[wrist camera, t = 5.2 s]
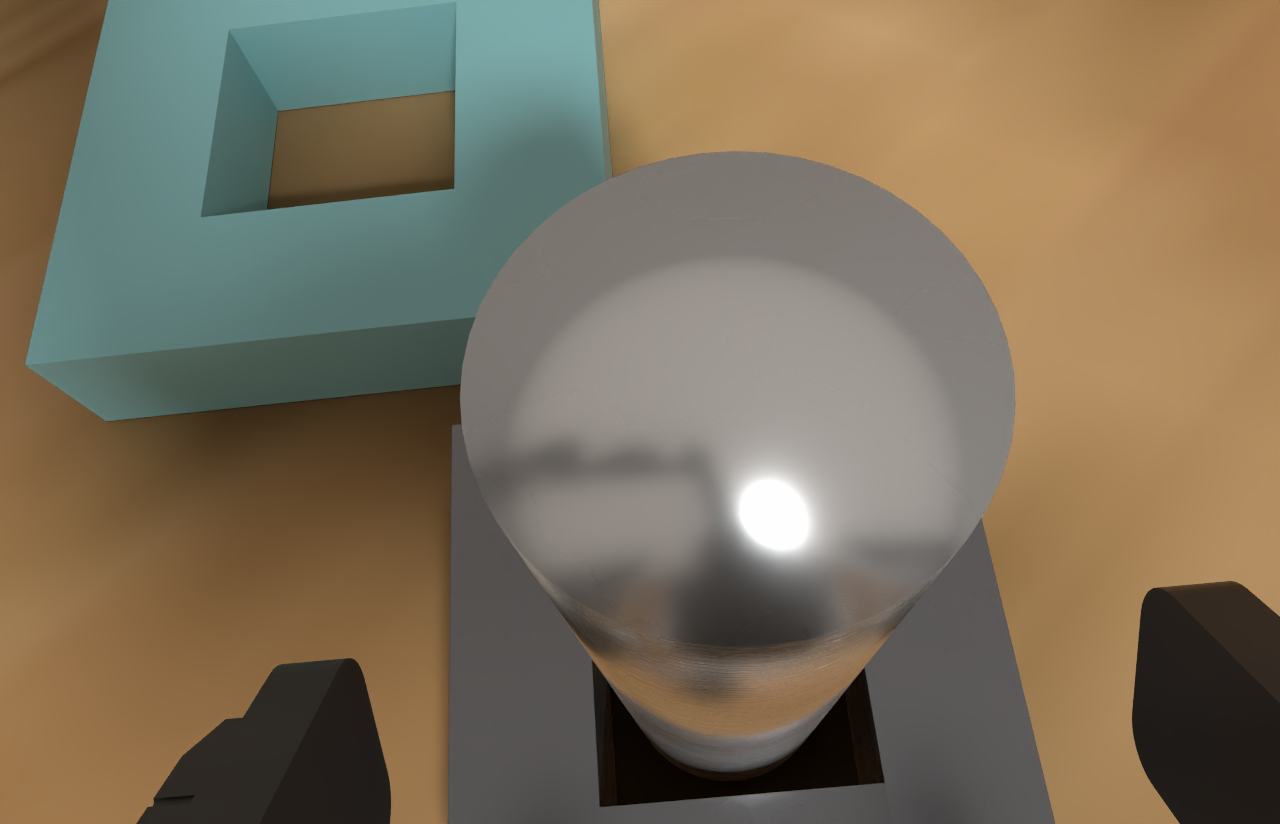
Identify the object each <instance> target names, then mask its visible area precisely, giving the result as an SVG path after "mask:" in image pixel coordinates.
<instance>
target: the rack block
mask: <svg viewBox="0 0 1280 824" xmlns="http://www.w3.org/2000/svg"><path fill="white" fill-rule="evenodd" d="M454 90H455V178H454V189H447V190H438V191H430V192H421V193H412V194H403V195H394V196H385V197H376V198H367V199H359V200H350V201H341V202H332V203H323V204H314V205H305V206H296V207H288V208H279V209H270V210H267V204H268V195H269V187H270V178H271V169H272V160H273V152H274V143H275V134H276V125H277V117H278V111H283V110H291V109H300V108H308V107H317V106H325V105H334V104H342V103H351V102H360V101H368V100H377V99H385V98H394V97H402V96H411V95H419V94H428V93H437V92H445V91H454ZM611 178H613V177H612V164H611V152H610V139H609V126H608V114H607V101H606V89H605V76H604V63H603V51H602V38H601V25H600V13H599V0H108V4H107V9H106V13H105V17H104V22H103V26H102V31H101V35H100V39H99V44H98V48H97V52H96V57H95V61H94V65H93V70H92V74H91V79H90V83H89V87H88V92H87V96H86V100H85V105H84V109H83V114H82V118H81V122H80V127H79V131H78V135H77V140H76V144H75V148H74V153H73V157H72V162H71V166H70V170H69V175H68V179H67V183H66V188H65V192H64V197H63V201H62V205H61V210H60V214H59V218H58V223H57V227H56V231H55V236H54V240H53V245H52V249H51V253H50V258H49V262H48V266H47V271H46V275H45V279H44V284H43V288H42V293H41V297H40V301H39V306H38V310H37V314H36V319H35V323H34V328H33V332H32V336H31V341H30V345H29V349H28V354H27V358H26V362H25V366H27V367H28V368H30V369H31V370H32V371H34V372H35V373H37V374H38V375H40V376H41V377H43V378H44V379H46V380H47V381H48V382H50V383H51V384H53V385H54V386H56V387H57V388H59V389H60V390H62V391H63V392H64V393H66V394H67V395H69V396H70V397H72V398H73V399H75V400H76V401H77V402H79V403H80V404H82V405H83V406H85V407H86V408H88V409H89V410H91V411H92V412H93V413H95V414H96V415H98V416H99V417H101V418H102V419H104V420H105V421H114V420H124V419H133V418H143V417H152V416H162V415H171V414H181V413H191V412H200V411H210V410H219V409H229V408H239V407H248V406H258V405H267V404H277V403H287V402H296V401H306V400H315V399H325V398H335V397H344V396H354V395H363V394H373V393H382V392H392V391H402V390H411V389H421V388H430V387H440V386H450V385H459V384H461V376H462V365H463V360H464V356H465V351H466V347H467V342H468V338H469V334H470V331H471V329H472V326H473V323H474V321H475V318H476V315H477V312H478V310H479V307H480V305H481V303H482V301H483V299H484V297H485V296H486V294H487V292H488V290H489V288H490V286H491V284H492V282H493V281H494V279H495V277H496V276H497V275H498V273H499V272H500V270H501V269H502V267H503V266H504V265H505V263H506V262H507V260H508V259H509V258H510V256H511V255H512V253H513V252H514V251H515V250H516V249H517V248H518V247H519V246H520V245H521V244H522V243H523V241H524V240H525V239H526V238H527V237H528V236H529V235H530V234H531V233H532V232H533V231H534V230H535V229H536V228H537V227H538V226H539V225H541V224H542V223H543V222H544V221H545V220H546V219H548V218H549V217H550V216H551V215H552V214H553V213H555V212H556V211H557V210H558V209H560V208H561V207H563V206H564V205H566V204H567V203H569V202H570V201H572V200H573V199H575V198H576V197H578V196H579V195H581V194H582V193H584V192H586V191H588V190H590V189H592V188H593V187H595V186H597V185H599V184H601V183H603V182H605V181H607V180H609V179H611Z"/></svg>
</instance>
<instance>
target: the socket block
mask: <svg viewBox="0 0 1280 824" xmlns="http://www.w3.org/2000/svg"><path fill="white" fill-rule="evenodd" d="M844 693H845V699H846V705H847V711H848V717H849V724H850V730H851V736H852V742H853V748H854V754H855V760H856V766H857V773H858V779H859V785H855V786H843V787H832V788H820V789H808V790H797V791H785V792H773V793H762V794H750V795H738V796H727V797H715V798H703V799H692V800H680V801H668V802H657V803H645V804H634V805H622V806H617V797H616V781H615V764H614V748H613V731H612V714H611V698H610V684H609V683H608V681H607V680H606V678H605V677H604V675H603V674H602V673H601V671H600V670H599V668H598V667H597V665H596V664H595V663H594V661H593V660H592V658H591V657H590V655H589V654H588V652H587V651H586V650H585V648H584V647H583V645H582V644H581V642H580V641H579V640H578V638H577V637H576V635H575V634H574V632H573V631H572V629H571V628H570V627H569V625H568V624H567V622H566V621H565V619H564V618H563V617H562V615H561V614H560V612H559V611H558V609H557V608H556V606H555V605H554V604H553V602H552V601H551V599H550V598H549V596H548V595H547V594H546V592H545V591H544V589H543V588H542V586H541V585H540V584H539V582H538V581H537V579H536V578H535V576H534V575H533V573H532V572H531V571H530V569H529V568H528V566H527V565H526V563H525V562H524V561H523V559H522V558H521V556H520V555H519V553H518V552H517V550H516V549H515V548H514V546H513V545H512V543H511V542H510V540H509V539H508V538H507V536H506V535H505V533H504V532H503V530H502V529H501V527H500V526H499V525H498V523H497V521H496V520H495V518H494V516H493V514H492V512H491V511H490V509H489V507H488V505H487V503H486V501H485V500H484V498H483V496H482V494H481V492H480V490H479V487H478V484H477V482H476V479H475V476H474V474H473V471H472V468H471V466H470V463H469V460H468V455H467V450H466V446H465V441H464V436H463V432H462V424H458V425H452V474H451V573H450V672H449V771H448V824H1055V821H1054V816H1053V812H1052V808H1051V804H1050V800H1049V796H1048V792H1047V787H1046V783H1045V779H1044V775H1043V771H1042V767H1041V763H1040V758H1039V754H1038V750H1037V746H1036V742H1035V738H1034V734H1033V729H1032V725H1031V721H1030V717H1029V713H1028V709H1027V705H1026V701H1025V696H1024V692H1023V688H1022V684H1021V680H1020V676H1019V672H1018V667H1017V663H1016V659H1015V655H1014V651H1013V647H1012V643H1011V638H1010V634H1009V630H1008V626H1007V622H1006V618H1005V614H1004V609H1003V605H1002V601H1001V597H1000V593H999V589H998V585H997V580H996V576H995V572H994V568H993V564H992V560H991V556H990V551H989V547H988V543H987V539H986V535H985V531H984V527H983V523H982V518H981V519H980V521H979V522H978V524H977V525H976V527H975V529H974V530H973V532H972V533H971V535H970V536H969V538H968V539H967V540H966V541H965V543H964V544H963V545H962V546H961V548H960V549H959V550H958V551H957V553H956V554H955V555H954V556H953V558H952V559H951V560H950V561H949V563H948V564H947V565H946V566H945V567H944V569H943V570H942V571H941V572H940V574H939V575H938V576H937V577H936V579H935V580H934V581H933V582H932V584H931V585H930V586H929V587H928V589H927V590H926V591H925V592H924V594H923V595H922V596H921V597H920V599H919V600H918V601H917V602H916V604H915V605H914V606H913V607H912V609H911V610H910V611H909V612H908V613H907V615H906V616H905V617H904V618H903V620H902V621H901V622H900V623H899V625H898V626H897V627H896V628H895V630H894V631H893V632H892V633H891V635H890V636H889V637H888V638H887V640H886V641H885V642H884V643H883V645H882V646H881V647H880V648H879V650H878V651H877V652H876V653H875V655H874V656H873V657H872V658H871V659H870V661H869V662H868V663H867V664H866V666H865V667H864V668H863V669H862V671H861V672H860V673H859V674H858V676H857V677H856V678H855V679H854V681H853V682H852V683H851V684H850V686H849V687H848V688H847V689H846V691H845V692H844Z"/></svg>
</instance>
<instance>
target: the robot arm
mask: <svg viewBox="0 0 1280 824" xmlns="http://www.w3.org/2000/svg"><path fill="white" fill-rule="evenodd" d="M1132 727H1133V735H1134V740H1135V745H1136V748H1137V752H1138V755H1139V758H1140V761H1141V764H1142V766H1143V768H1144V771H1145V773H1146V775H1147V776H1148V778H1149V780H1150V782H1151V783H1152V785H1153V786H1154V788H1155V789H1156V791H1157V792H1158V793H1159V795H1160V796H1161V798H1162V799H1163V800H1164V802H1165V803H1166V805H1167V806H1168V807H1169V809H1170V810H1171V812H1172V813H1173V815H1174V816H1175V817H1176V819H1177V820H1178V822H1179V823H1180V824H1280V617H1279V616H1278V615H1277V614H1276V613H1275V612H1273V611H1272V610H1271V609H1270V608H1269V607H1268V606H1266V605H1265V604H1264V603H1263V602H1262V601H1261V600H1260V599H1258V598H1257V597H1256V596H1255V595H1254V594H1253V593H1251V592H1250V591H1249V590H1248V589H1247V588H1245V587H1244V586H1243V585H1241V584H1239V583H1237V582H1233V581H1226V582H1215V583H1204V584H1193V585H1182V586H1171V587H1160V588H1153V589H1151V590H1150V591H1149V592H1148V593H1147V594H1146V596H1145V598H1144V600H1143V604H1142V609H1141V617H1140V629H1139V641H1138V652H1137V664H1136V676H1135V687H1134V699H1133V710H1132ZM390 815H391V792H390V782H389V777H388V772H387V768H386V764H385V760H384V756H383V752H382V748H381V744H380V740H379V736H378V732H377V728H376V724H375V720H374V716H373V711H372V707H371V703H370V699H369V695H368V691H367V687H366V683H365V679H364V676H363V673H362V670H361V668H360V666H359V664H358V663H357V662H356V661H355V660H354V659H352V658H347V659H336V660H325V661H314V662H303V663H292V664H281V665H279V666H277V667H276V668H275V669H273V671H272V672H271V673H270V675H269V677H268V678H267V680H266V681H265V683H264V685H263V686H262V688H261V689H260V691H259V693H258V694H257V696H256V697H255V699H254V701H253V702H252V704H251V706H250V707H249V709H248V710H247V712H246V714H245V715H244V717H243V718H235V719H226V720H224V721H223V722H222V723H221V724H220V725H219V726H217V727H216V728H215V729H214V730H213V731H211V732H210V733H209V734H208V735H207V736H206V737H204V738H203V739H202V740H201V741H200V742H198V743H197V744H196V745H195V746H194V747H192V748H191V749H190V750H189V751H188V752H187V753H185V754H184V755H183V756H182V757H181V759H180V760H179V762H178V763H177V764H176V766H175V767H174V769H173V770H172V772H171V773H170V775H169V776H168V778H167V779H166V781H165V782H164V784H163V785H162V787H161V788H160V790H159V791H158V793H157V794H156V796H155V797H154V805H153V807H147V809H146V810H145V812H144V813H143V815H142V816H141V818H140V819H139V821H138V822H137V824H390Z"/></svg>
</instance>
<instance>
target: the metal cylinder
mask: <svg viewBox="0 0 1280 824" xmlns="http://www.w3.org/2000/svg"><path fill="white" fill-rule="evenodd" d="M460 407H461V422H462V432H463V436H464V441H465V446H466V450H467V455H468V460H469V463H470V466H471V468H472V471H473V474H474V476H475V479H476V482H477V484H478V487H479V490H480V492H481V494H482V496H483V498H484V500H485V501H486V503H487V505H488V507H489V509H490V511H491V512H492V514H493V516H494V518H495V520H496V521H497V523H498V525H499V526H500V527H501V529H502V530H503V532H504V533H505V535H506V536H507V538H508V539H509V540H510V542H511V543H512V545H513V546H514V548H515V549H516V550H517V552H518V553H519V555H520V556H521V558H522V559H523V561H524V562H525V563H526V565H527V566H528V568H529V569H530V571H531V572H532V573H533V575H534V576H535V578H536V579H537V581H538V582H539V584H540V585H541V586H542V588H543V589H544V591H545V592H546V594H547V595H548V596H549V598H550V599H551V601H552V602H553V604H554V605H555V606H556V608H557V609H558V611H559V612H560V614H561V615H562V617H563V618H564V619H565V621H566V622H567V624H568V625H569V627H570V628H571V629H572V631H573V632H574V634H575V635H576V637H577V638H578V640H579V641H580V642H581V644H582V645H583V647H584V648H585V650H586V651H587V652H588V654H589V655H590V657H591V658H592V660H593V661H594V663H595V664H596V665H597V667H598V668H599V670H600V671H601V673H602V674H603V675H604V677H605V678H606V680H607V681H608V683H609V684H610V686H611V687H612V688H613V690H614V691H615V693H616V694H617V696H618V697H619V698H620V700H621V701H622V703H623V704H624V706H625V707H626V709H627V710H628V711H629V713H630V714H631V716H632V717H633V719H634V720H635V721H636V723H637V724H638V726H639V727H640V729H641V730H642V732H643V733H644V734H645V736H646V737H647V738H648V740H649V741H650V742H651V744H652V745H653V746H654V748H655V749H656V750H657V751H658V752H659V753H660V754H661V755H662V756H663V757H665V758H666V759H667V760H669V761H670V762H671V763H672V764H674V765H675V766H677V767H679V768H681V769H682V770H684V771H686V772H688V773H691V774H693V775H696V776H699V777H702V778H706V779H710V780H718V781H739V780H745V779H750V778H753V777H757V776H760V775H763V774H765V773H767V772H769V771H771V770H773V769H775V768H776V767H778V766H779V765H781V764H782V763H784V762H785V761H786V760H788V759H789V758H790V757H791V756H792V755H793V754H794V753H795V752H796V751H797V750H798V749H799V747H800V746H801V745H802V744H803V743H804V742H805V740H806V739H807V738H808V737H809V735H810V734H811V733H812V732H813V730H814V729H815V728H816V727H817V725H818V724H819V723H820V722H821V720H822V719H823V718H824V717H825V715H826V714H827V713H828V712H829V710H830V709H831V708H832V707H833V705H834V704H835V703H836V702H837V701H838V699H839V698H840V697H841V696H842V694H843V693H844V692H845V691H846V689H847V688H848V687H849V686H850V684H851V683H852V682H853V681H854V679H855V678H856V677H857V676H858V674H859V673H860V672H861V671H862V669H863V668H864V667H865V666H866V664H867V663H868V662H869V661H870V659H871V658H872V657H873V656H874V655H875V653H876V652H877V651H878V650H879V648H880V647H881V646H882V645H883V643H884V642H885V641H886V640H887V638H888V637H889V636H890V635H891V633H892V632H893V631H894V630H895V628H896V627H897V626H898V625H899V623H900V622H901V621H902V620H903V618H904V617H905V616H906V615H907V613H908V612H909V611H910V610H911V609H912V607H913V606H914V605H915V604H916V602H917V601H918V600H919V599H920V597H921V596H922V595H923V594H924V592H925V591H926V590H927V589H928V587H929V586H930V585H931V584H932V582H933V581H934V580H935V579H936V577H937V576H938V575H939V574H940V572H941V571H942V570H943V569H944V567H945V566H946V565H947V564H948V563H949V561H950V560H951V559H952V558H953V556H954V555H955V554H956V553H957V551H958V550H959V549H960V548H961V546H962V545H963V544H964V543H965V541H966V540H967V539H968V538H969V536H970V535H971V533H972V532H973V530H974V529H975V527H976V525H977V524H978V522H979V521H980V519H981V517H982V516H983V514H984V513H985V511H986V510H987V508H988V506H989V504H990V502H991V500H992V498H993V495H994V493H995V491H996V488H997V486H998V484H999V481H1000V479H1001V477H1002V475H1003V472H1004V468H1005V464H1006V460H1007V457H1008V453H1009V449H1010V445H1011V441H1012V435H1013V425H1014V416H1015V385H1014V371H1013V366H1012V361H1011V356H1010V351H1009V346H1008V341H1007V338H1006V335H1005V332H1004V329H1003V326H1002V324H1001V321H1000V318H999V315H998V312H997V310H996V308H995V306H994V304H993V302H992V300H991V298H990V296H989V294H988V292H987V290H986V289H985V287H984V285H983V283H982V281H981V279H980V278H979V277H978V275H977V274H976V272H975V271H974V270H973V268H972V267H971V265H970V264H969V262H968V261H967V260H966V258H965V257H964V255H963V254H962V253H961V252H960V251H959V250H958V249H957V248H956V246H955V245H954V244H953V243H952V242H951V241H950V240H949V239H948V238H947V237H946V236H945V235H944V233H943V232H942V231H941V230H940V229H938V228H937V227H936V226H935V225H934V224H933V223H931V222H930V221H929V220H928V219H927V218H925V217H924V216H923V215H922V214H921V213H920V212H918V211H917V210H916V209H914V208H913V207H911V206H910V205H908V204H907V203H905V202H904V201H902V200H901V199H899V198H898V197H896V196H895V195H893V194H892V193H890V192H889V191H887V190H885V189H883V188H881V187H879V186H877V185H875V184H873V183H871V182H869V181H867V180H865V179H863V178H861V177H859V176H856V175H854V174H851V173H848V172H846V171H843V170H840V169H838V168H835V167H832V166H830V165H826V164H822V163H818V162H814V161H810V160H806V159H802V158H798V157H792V156H785V155H778V154H771V153H761V152H737V151H732V152H715V153H701V154H695V155H689V156H683V157H677V158H671V159H667V160H663V161H660V162H656V163H653V164H649V165H645V166H642V167H639V168H636V169H633V170H631V171H628V172H626V173H623V174H621V175H618V176H616V177H613V178H611V179H609V180H607V181H605V182H603V183H601V184H599V185H597V186H595V187H593V188H592V189H590V190H588V191H586V192H584V193H582V194H581V195H579V196H578V197H576V198H575V199H573V200H572V201H570V202H569V203H567V204H566V205H564V206H563V207H561V208H560V209H558V210H557V211H556V212H555V213H553V214H552V215H551V216H550V217H549V218H548V219H546V220H545V221H544V222H543V223H542V224H541V225H539V226H538V227H537V228H536V229H535V230H534V231H533V232H532V233H531V234H530V235H529V236H528V237H527V238H526V239H525V240H524V241H523V243H522V244H521V245H520V246H519V247H518V248H517V249H516V250H515V251H514V252H513V253H512V255H511V256H510V258H509V259H508V260H507V262H506V263H505V265H504V266H503V267H502V269H501V270H500V272H499V273H498V275H497V276H496V277H495V279H494V281H493V282H492V284H491V286H490V288H489V290H488V292H487V294H486V296H485V297H484V299H483V301H482V303H481V305H480V307H479V310H478V312H477V315H476V318H475V321H474V323H473V326H472V329H471V331H470V334H469V338H468V342H467V347H466V351H465V356H464V360H463V365H462V376H461V389H460Z"/></svg>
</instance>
